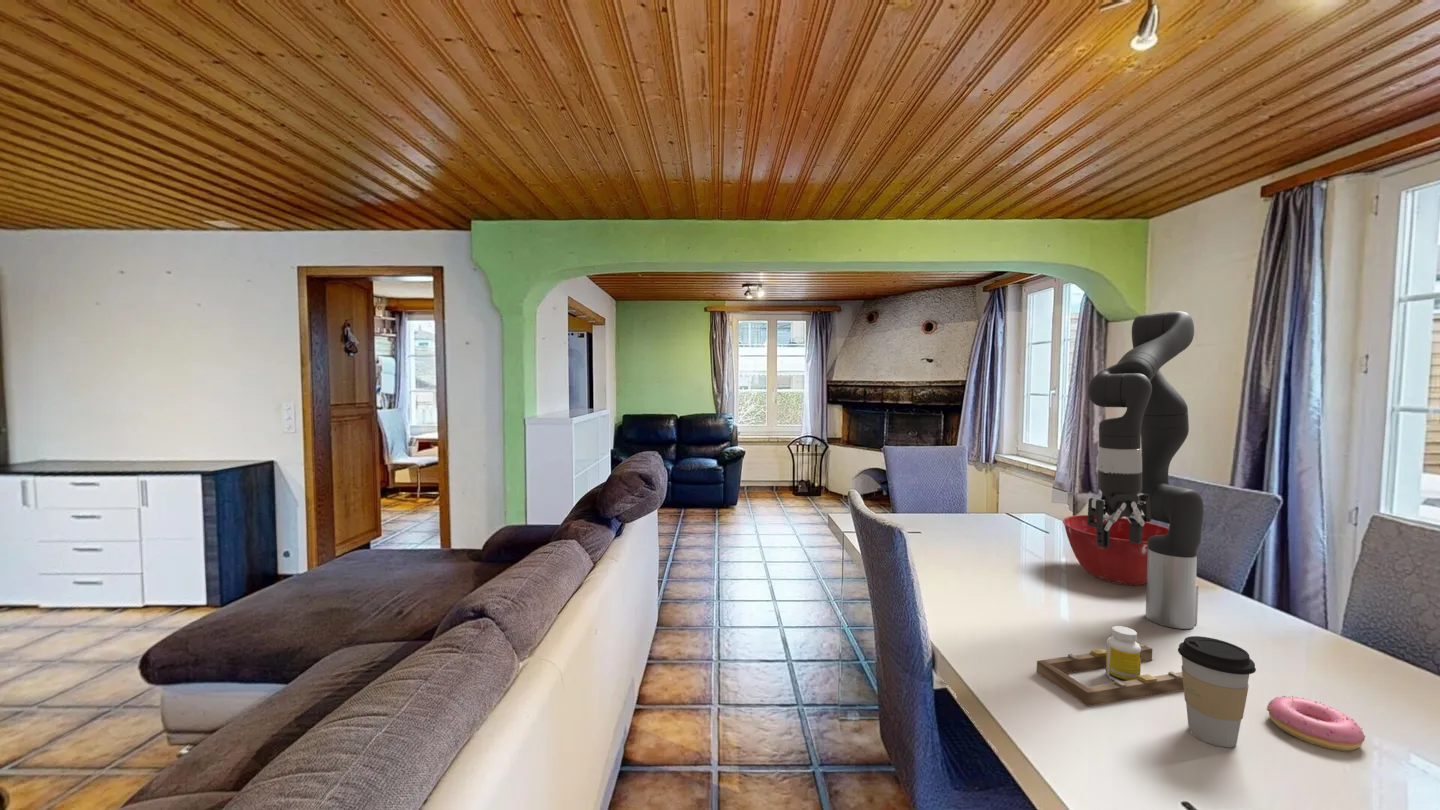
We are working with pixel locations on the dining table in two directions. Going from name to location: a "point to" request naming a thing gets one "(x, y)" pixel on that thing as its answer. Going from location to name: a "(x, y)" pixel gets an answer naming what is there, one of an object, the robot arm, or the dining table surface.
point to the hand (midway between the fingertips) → (1119, 544)
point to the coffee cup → (1215, 688)
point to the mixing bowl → (1111, 550)
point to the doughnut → (1315, 723)
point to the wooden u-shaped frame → (1107, 692)
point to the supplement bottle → (1123, 655)
